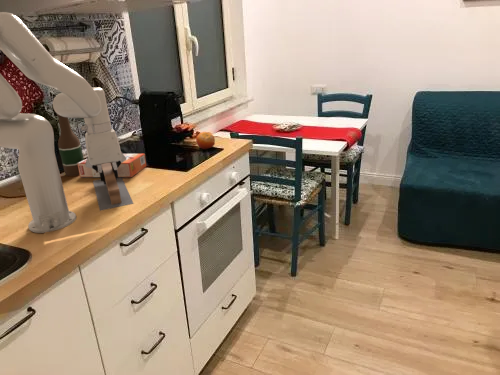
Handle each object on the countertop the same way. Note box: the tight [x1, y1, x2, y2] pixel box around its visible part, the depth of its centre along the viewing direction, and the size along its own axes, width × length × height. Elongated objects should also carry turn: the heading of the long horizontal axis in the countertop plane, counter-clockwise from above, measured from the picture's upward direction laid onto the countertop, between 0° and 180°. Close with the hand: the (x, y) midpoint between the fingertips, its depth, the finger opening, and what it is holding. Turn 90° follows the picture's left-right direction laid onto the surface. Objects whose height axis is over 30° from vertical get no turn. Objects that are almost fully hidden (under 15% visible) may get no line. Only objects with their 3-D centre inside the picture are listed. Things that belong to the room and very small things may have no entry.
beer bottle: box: [56, 113, 85, 177], centre depth 156 cm, size 8×8×24 cm
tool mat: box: [92, 177, 135, 212], centre depth 139 cm, size 30×10×1 cm, turn 24°
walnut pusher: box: [96, 162, 122, 205], centre depth 137 cm, size 25×7×5 cm, turn 24°
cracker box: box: [78, 153, 147, 178], centre depth 157 cm, size 14×6×21 cm
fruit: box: [195, 131, 216, 150], centre depth 182 cm, size 8×8×8 cm
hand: (110, 181), depth 138 cm, fingers closed on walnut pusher, 2 cm apart
